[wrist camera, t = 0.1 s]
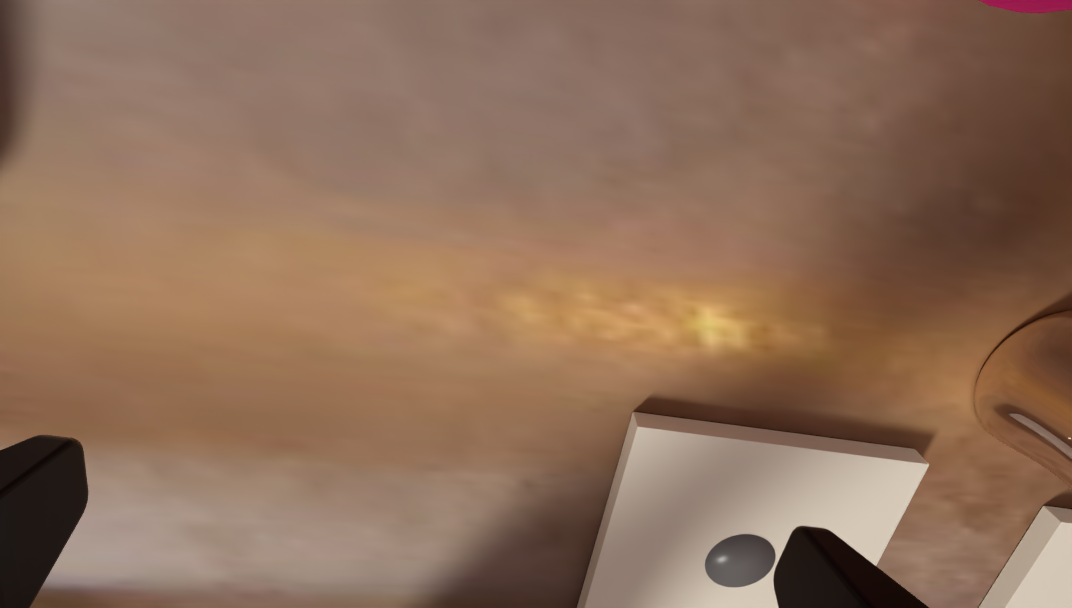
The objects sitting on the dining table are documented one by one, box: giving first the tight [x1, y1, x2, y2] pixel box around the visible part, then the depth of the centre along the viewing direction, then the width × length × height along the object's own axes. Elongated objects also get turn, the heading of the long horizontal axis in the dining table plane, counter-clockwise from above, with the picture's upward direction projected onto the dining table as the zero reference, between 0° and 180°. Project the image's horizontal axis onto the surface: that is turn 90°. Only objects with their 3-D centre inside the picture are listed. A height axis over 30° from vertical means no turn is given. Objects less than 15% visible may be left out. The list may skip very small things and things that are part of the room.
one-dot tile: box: [577, 412, 929, 608], centre depth 28 cm, size 12×12×1 cm
